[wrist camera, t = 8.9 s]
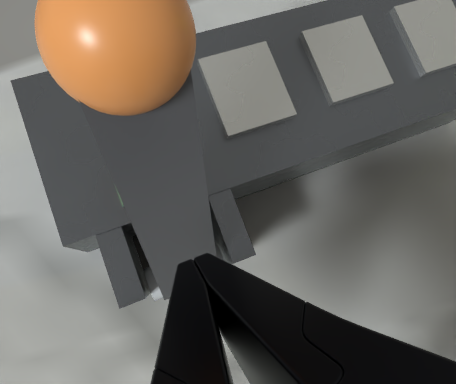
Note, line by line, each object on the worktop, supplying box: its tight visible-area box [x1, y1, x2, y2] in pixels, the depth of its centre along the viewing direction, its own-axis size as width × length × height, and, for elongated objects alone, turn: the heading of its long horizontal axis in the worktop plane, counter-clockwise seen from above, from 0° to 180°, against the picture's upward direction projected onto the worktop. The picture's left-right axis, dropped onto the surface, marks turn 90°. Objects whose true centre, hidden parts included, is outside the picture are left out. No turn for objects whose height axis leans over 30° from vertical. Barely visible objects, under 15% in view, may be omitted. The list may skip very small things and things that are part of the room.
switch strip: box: [11, 0, 456, 308], centre depth 19 cm, size 10×22×5 cm, turn 111°
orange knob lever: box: [35, 0, 224, 301], centre depth 12 cm, size 3×3×13 cm
